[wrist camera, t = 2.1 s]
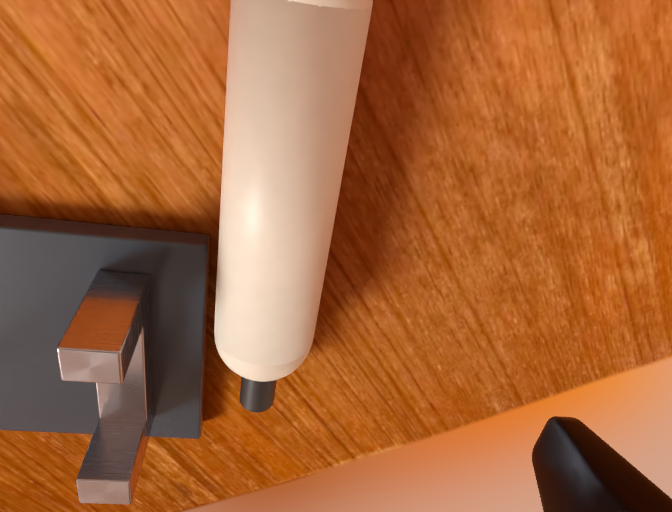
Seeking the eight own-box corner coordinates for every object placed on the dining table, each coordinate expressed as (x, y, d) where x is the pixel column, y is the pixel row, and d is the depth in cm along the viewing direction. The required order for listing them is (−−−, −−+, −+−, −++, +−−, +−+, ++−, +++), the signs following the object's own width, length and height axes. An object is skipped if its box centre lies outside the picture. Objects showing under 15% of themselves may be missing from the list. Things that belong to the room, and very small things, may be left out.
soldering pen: (300, 370, 21) (302, 439, 18) (216, 365, 20) (204, 434, 18) (415, -307, 11) (455, -378, 8) (255, -347, 10) (243, -436, 8)
